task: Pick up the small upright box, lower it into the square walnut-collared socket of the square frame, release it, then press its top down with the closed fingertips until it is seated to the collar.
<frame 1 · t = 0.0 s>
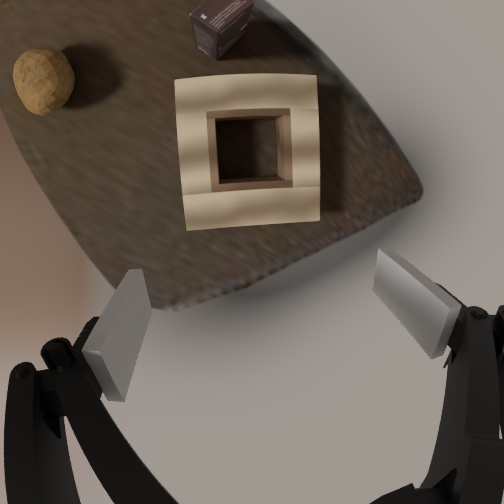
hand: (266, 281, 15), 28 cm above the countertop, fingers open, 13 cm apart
square frame: (247, 148, 39), on the countertop
box: (220, 41, 32), on the countertop
potato: (56, 82, 31), on the countertop
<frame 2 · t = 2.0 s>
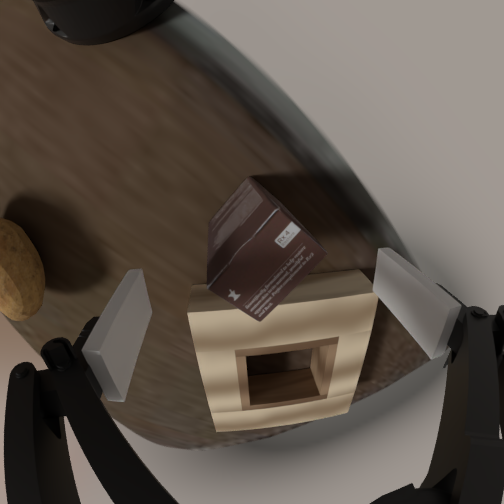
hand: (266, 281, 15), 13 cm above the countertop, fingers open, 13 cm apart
square frame: (279, 349, 33), on the countertop
box: (246, 212, 27), on the countertop
potato: (20, 247, 25), on the countertop
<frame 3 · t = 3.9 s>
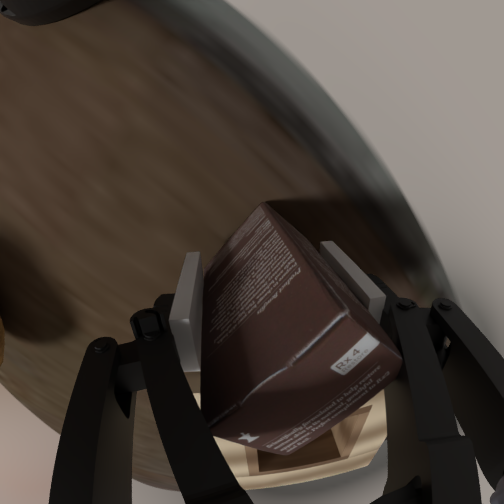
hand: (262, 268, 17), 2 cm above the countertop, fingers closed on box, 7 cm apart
square frame: (294, 409, 25), on the countertop
box: (258, 253, 19), on the countertop, touching gripper
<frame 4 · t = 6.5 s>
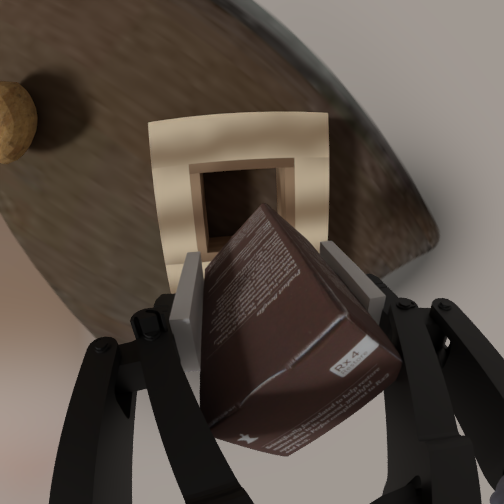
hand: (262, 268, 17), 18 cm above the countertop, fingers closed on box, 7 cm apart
square frame: (241, 200, 34), on the countertop
box: (258, 254, 19), point 16 cm above the countertop, touching gripper
potato: (21, 118, 26), on the countertop
when the fingers open (6 cm above the countertop, at t = 9.1 s): box drops 4 cm, resting in square frame.
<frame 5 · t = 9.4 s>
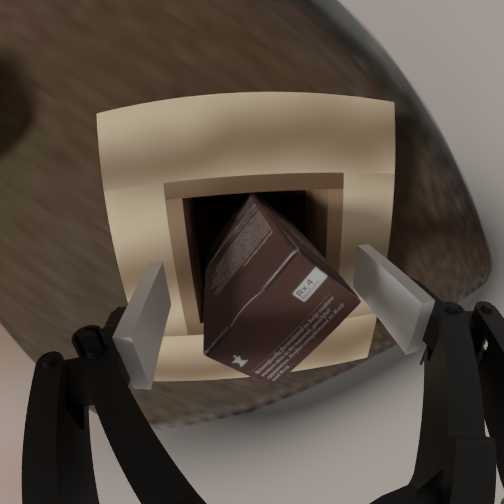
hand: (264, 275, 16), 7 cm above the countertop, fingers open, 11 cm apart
square frame: (251, 235, 22), on the countertop
box: (250, 234, 22), resting in square frame
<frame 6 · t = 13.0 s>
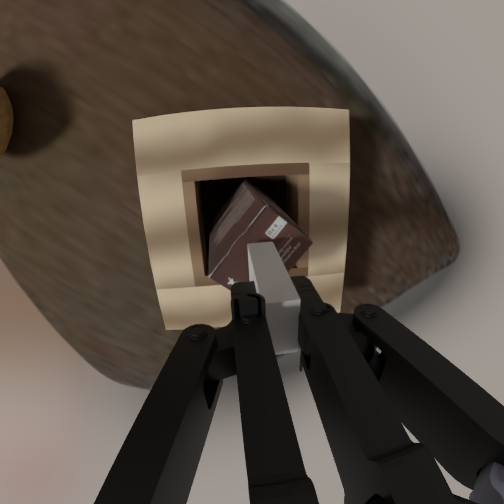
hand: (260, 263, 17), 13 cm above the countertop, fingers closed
square frame: (244, 212, 29), on the countertop
box: (244, 212, 29), resting in square frame
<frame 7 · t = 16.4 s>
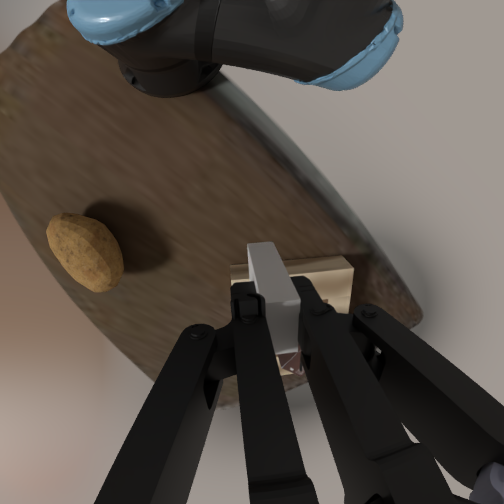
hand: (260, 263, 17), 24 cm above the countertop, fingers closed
square frame: (287, 313, 48), on the countertop
box: (286, 312, 48), resting in square frame
potato: (96, 239, 40), on the countertop
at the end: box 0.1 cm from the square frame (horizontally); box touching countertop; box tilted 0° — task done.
